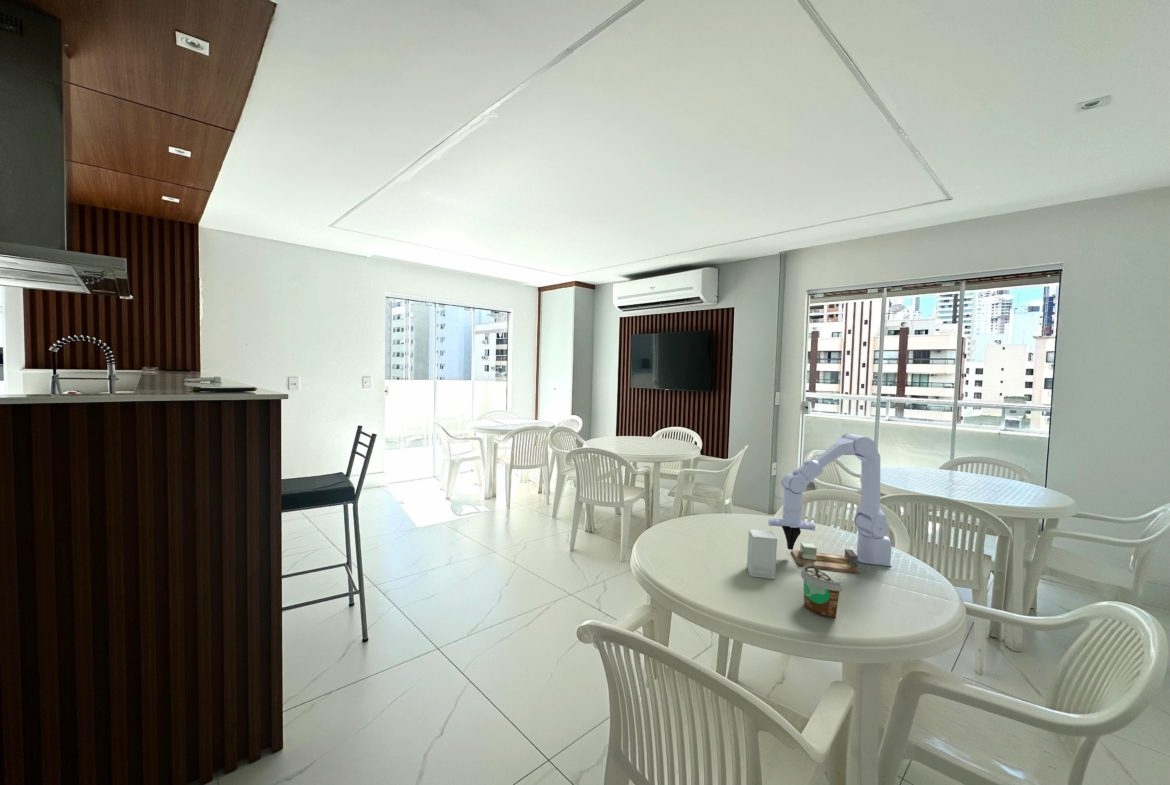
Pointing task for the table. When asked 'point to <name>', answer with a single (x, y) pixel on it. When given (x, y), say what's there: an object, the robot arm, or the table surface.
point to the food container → (820, 592)
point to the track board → (830, 561)
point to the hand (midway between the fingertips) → (790, 548)
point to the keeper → (808, 550)
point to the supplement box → (761, 554)
